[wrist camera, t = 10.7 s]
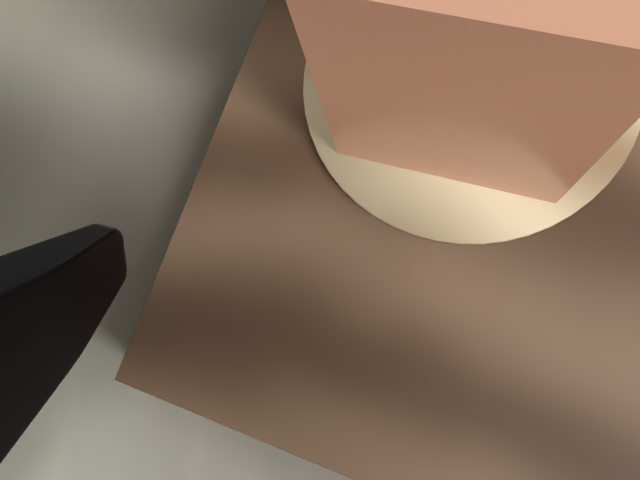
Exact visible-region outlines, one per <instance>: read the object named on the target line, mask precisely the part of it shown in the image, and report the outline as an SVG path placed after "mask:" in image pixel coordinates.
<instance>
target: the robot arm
mask: <svg viewBox="0 0 640 480" xmlns="http://www.w3.org/2000/svg"><path fill="white" fill-rule="evenodd" d="M126 271H127V267H126V259H125V251H124V243H123V236H122V234H121V232H120V231H119V230H118V229H116V228H112V227H109V226H105V225H102V224H92V225H89V226H86V227H83V228H80V229H78V230H75V231H72V232H69V233H66V234H63V235H60V236H57V237H54V238H51V239H49V240H46V241H43V242H40V243H37V244H34V245H31V246H28V247H25V248H23V249H20V250H17V251H14V252H11V253H8V254H5V255H2V256H0V463H1V462H2V461H3V459H4V458H5V457H6V455H7V454H8V453H9V451H10V450H11V449H12V447H13V446H14V445H15V443H16V442H17V441H18V439H19V438H20V437H21V435H22V434H23V433H24V431H25V430H26V429H27V427H28V426H29V425H30V423H31V422H32V420H33V419H34V418H35V416H36V415H37V414H38V412H39V411H40V410H41V408H42V407H43V406H44V404H45V403H46V402H47V400H48V399H49V398H50V396H51V395H52V394H53V392H54V391H55V390H56V388H57V387H58V386H59V384H60V383H61V382H62V380H63V379H64V378H65V376H66V375H67V374H68V372H69V371H70V369H71V368H72V367H73V365H74V364H75V362H76V361H77V360H78V358H79V357H80V355H81V354H82V352H83V350H84V349H85V347H86V346H87V344H88V342H89V341H90V339H91V337H92V335H93V334H94V332H95V330H96V329H97V327H98V325H99V324H100V322H101V320H102V318H103V317H104V315H105V313H106V312H107V310H108V308H109V307H110V305H111V303H112V301H113V300H114V298H115V296H116V295H117V293H118V291H119V290H120V288H121V286H122V284H123V282H124V280H125V277H126Z"/></svg>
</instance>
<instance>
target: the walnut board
mask: <svg viewBox="0 0 640 480" xmlns="http://www.w3.org/2000/svg"><path fill="white" fill-rule="evenodd" d="M115 380H117V381H119V382H121V383H124V384H126V385H129V386H131V387H133V388H136V389H138V390H141V391H143V392H145V393H148V394H150V395H153V396H155V397H157V398H160V399H162V400H164V401H167V402H169V403H172V404H174V405H176V406H179V407H181V408H184V409H186V410H188V411H191V412H193V413H196V414H198V415H200V416H203V417H205V418H208V419H210V420H212V421H215V422H217V423H220V424H222V425H224V426H227V427H229V428H231V429H234V430H236V431H239V432H241V433H243V434H246V435H248V436H251V437H253V438H255V439H258V440H260V441H263V442H265V443H267V444H270V445H272V446H275V447H277V448H279V449H282V450H284V451H287V452H289V453H291V454H294V455H296V456H298V457H301V458H303V459H306V460H308V461H310V462H313V463H315V464H318V465H320V466H322V467H325V468H327V469H330V470H332V471H334V472H337V473H339V474H342V475H344V476H346V477H349V478H351V479H353V480H640V118H639V119H638V120H637V121H636V122H635V123H634V124H633V125H632V126H631V127H630V128H629V129H628V130H627V131H626V132H625V133H624V134H623V135H622V136H621V137H620V138H619V139H618V140H617V141H616V142H615V143H614V144H613V146H612V147H611V148H610V149H609V150H608V151H607V152H606V153H605V154H604V155H603V156H602V157H601V158H600V159H599V160H598V161H597V162H596V163H595V164H594V165H593V166H592V167H591V168H590V169H589V170H588V171H587V172H586V173H585V174H584V175H583V176H582V177H581V178H580V179H579V180H578V181H577V182H576V184H575V185H574V186H573V187H572V188H571V189H570V190H569V191H568V192H567V193H566V194H565V195H564V196H563V197H562V198H561V199H560V200H559V201H558V202H557V203H556V204H555V203H551V202H547V201H542V200H538V199H534V198H529V197H525V196H521V195H516V194H512V193H508V192H503V191H499V190H495V189H490V188H486V187H482V186H477V185H473V184H469V183H464V182H460V181H456V180H451V179H447V178H443V177H438V176H434V175H430V174H425V173H421V172H417V171H412V170H408V169H404V168H399V167H395V166H391V165H386V164H382V163H378V162H373V161H369V160H365V159H360V158H356V157H352V156H347V155H343V154H338V152H337V149H336V147H335V144H334V141H333V138H332V135H331V132H330V129H329V126H328V123H327V120H326V117H325V114H324V111H323V108H322V106H321V103H320V100H319V97H318V94H317V91H316V88H315V85H314V82H313V79H312V76H311V73H310V70H309V67H308V65H307V62H306V59H305V56H304V53H303V50H302V47H301V44H300V41H299V38H298V35H297V32H296V29H295V26H294V23H293V21H292V18H291V15H290V12H289V9H288V6H287V3H286V0H268V1H267V3H266V6H265V8H264V11H263V13H262V16H261V18H260V21H259V23H258V26H257V28H256V31H255V33H254V36H253V38H252V40H251V43H250V45H249V48H248V50H247V53H246V55H245V58H244V60H243V63H242V65H241V68H240V70H239V73H238V75H237V78H236V80H235V83H234V85H233V88H232V90H231V93H230V95H229V97H228V100H227V102H226V105H225V107H224V110H223V112H222V115H221V117H220V120H219V122H218V125H217V127H216V130H215V132H214V135H213V137H212V140H211V142H210V145H209V147H208V150H207V152H206V155H205V157H204V159H203V162H202V164H201V167H200V169H199V172H198V174H197V177H196V179H195V182H194V184H193V187H192V189H191V192H190V194H189V197H188V199H187V202H186V204H185V207H184V209H183V212H182V214H181V216H180V219H179V221H178V224H177V226H176V229H175V231H174V234H173V236H172V239H171V241H170V244H169V246H168V249H167V251H166V254H165V256H164V259H163V261H162V264H161V266H160V269H159V271H158V274H157V276H156V278H155V281H154V283H153V286H152V288H151V291H150V293H149V296H148V298H147V301H146V303H145V306H144V308H143V311H142V313H141V316H140V318H139V321H138V323H137V326H136V328H135V331H134V333H133V335H132V338H131V340H130V343H129V345H128V348H127V350H126V353H125V355H124V358H123V360H122V363H121V365H120V368H119V370H118V373H117V375H116V378H115Z"/></svg>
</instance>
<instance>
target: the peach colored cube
mask: <svg viewBox="0 0 640 480" xmlns="http://www.w3.org/2000/svg"><path fill="white" fill-rule="evenodd" d="M286 3H287V6H288V9H289V12H290V15H291V18H292V21H293V23H294V26H295V29H296V32H297V35H298V38H299V41H300V44H301V47H302V50H303V53H304V56H305V59H306V62H307V65H308V67H309V70H310V73H311V76H312V79H313V82H314V85H315V88H316V91H317V94H318V97H319V100H320V103H321V106H322V108H323V111H324V114H325V117H326V120H327V123H328V126H329V129H330V132H331V135H332V138H333V141H334V144H335V147H336V149H337V152H338V154H343V155H347V156H352V157H356V158H360V159H365V160H369V161H373V162H378V163H382V164H386V165H391V166H395V167H399V168H404V169H408V170H412V171H417V172H421V173H425V174H430V175H434V176H438V177H443V178H447V179H451V180H456V181H460V182H464V183H469V184H473V185H477V186H482V187H486V188H490V189H495V190H499V191H503V192H508V193H512V194H516V195H521V196H525V197H529V198H534V199H538V200H542V201H547V202H551V203H555V204H556V203H557V202H558V201H559V200H560V199H561V198H562V197H563V196H564V195H565V194H566V193H567V192H568V191H569V190H570V189H571V188H572V187H573V186H574V185H575V184H576V182H577V181H578V180H579V179H580V178H581V177H582V176H583V175H584V174H585V173H586V172H587V171H588V170H589V169H590V168H591V167H592V166H593V165H594V164H595V163H596V162H597V161H598V160H599V159H600V158H601V157H602V156H603V155H604V154H605V153H606V152H607V151H608V150H609V149H610V148H611V147H612V146H613V144H614V143H615V142H616V141H617V140H618V139H619V138H620V137H621V136H622V135H623V134H624V133H625V132H626V131H627V130H628V129H629V128H630V127H631V126H632V125H633V124H634V123H635V122H636V121H637V120H638V119H639V118H640V0H286Z"/></svg>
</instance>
